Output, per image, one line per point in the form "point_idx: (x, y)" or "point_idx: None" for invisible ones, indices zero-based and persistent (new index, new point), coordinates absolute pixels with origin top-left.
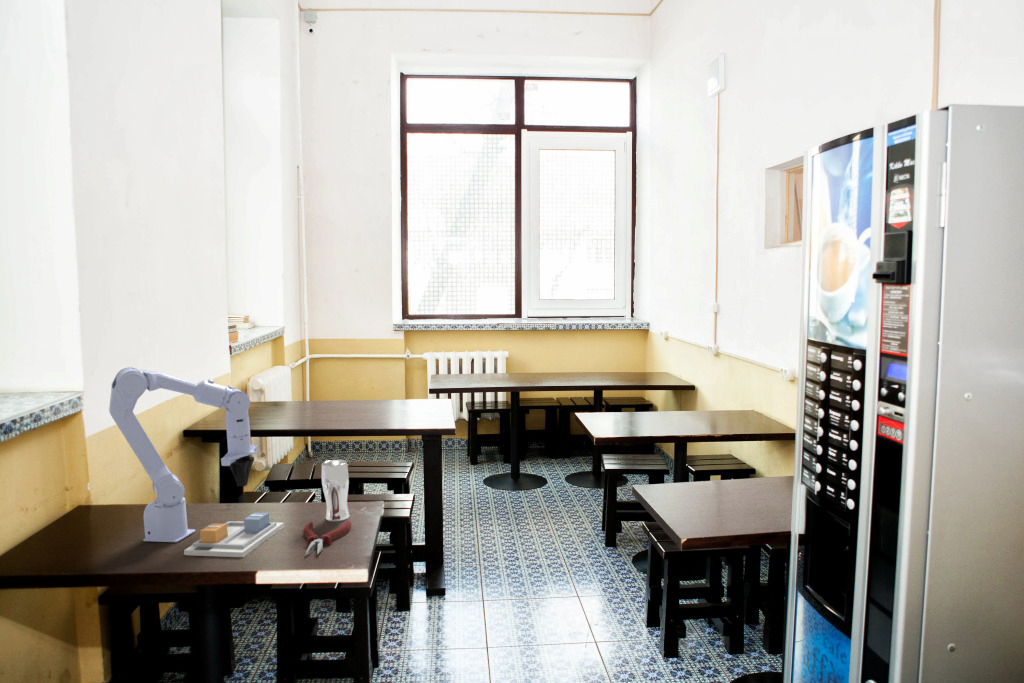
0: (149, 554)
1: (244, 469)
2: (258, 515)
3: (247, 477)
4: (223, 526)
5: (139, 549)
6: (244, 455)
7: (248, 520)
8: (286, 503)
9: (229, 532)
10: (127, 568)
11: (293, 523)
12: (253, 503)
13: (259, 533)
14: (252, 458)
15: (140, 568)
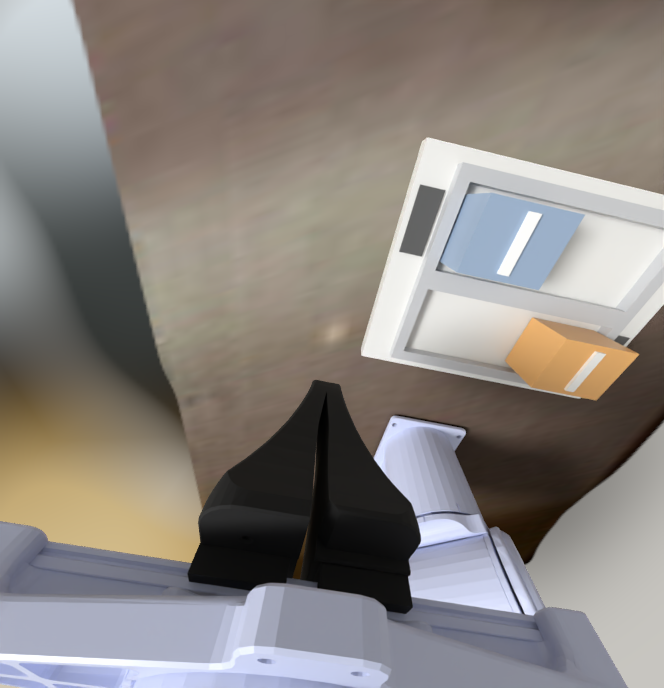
0: (519, 452)
1: (376, 463)
2: (527, 233)
3: (317, 403)
4: (588, 342)
5: (475, 473)
6: (426, 650)
7: (549, 267)
8: (137, 231)
9: (473, 328)
10: (590, 462)
11: (380, 106)
12: (163, 344)
13: (587, 200)
14: (264, 507)
15: (607, 444)
